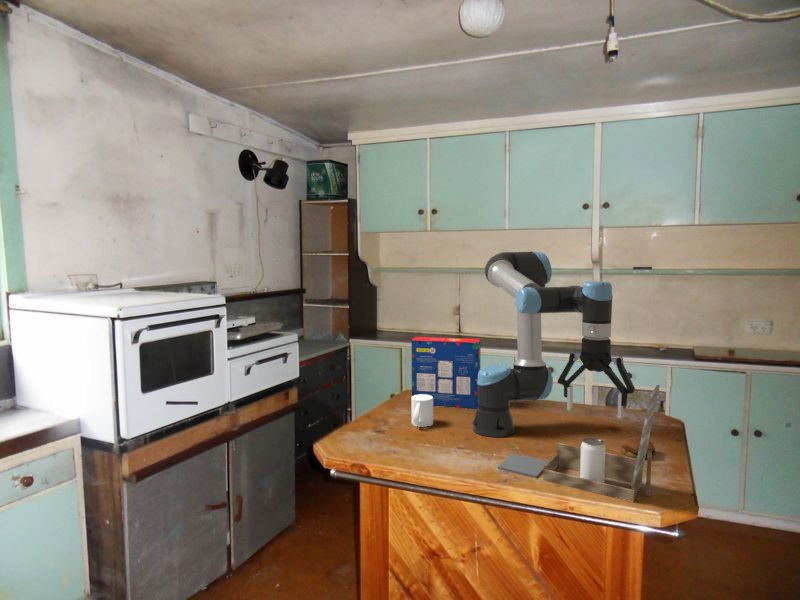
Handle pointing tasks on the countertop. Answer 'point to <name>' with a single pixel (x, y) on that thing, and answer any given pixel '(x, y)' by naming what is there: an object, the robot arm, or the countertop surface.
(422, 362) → the blue board game box
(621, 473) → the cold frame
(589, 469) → the can
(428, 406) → the mug
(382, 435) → the countertop surface
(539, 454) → the countertop surface
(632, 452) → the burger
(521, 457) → the mat
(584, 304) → the robot arm
